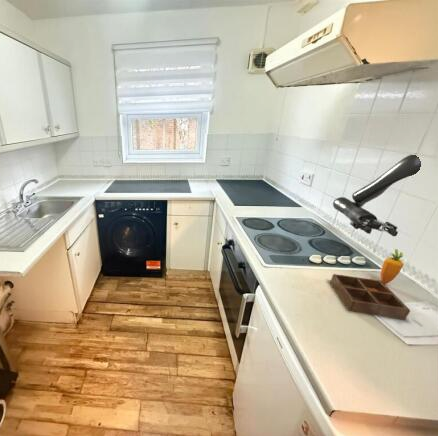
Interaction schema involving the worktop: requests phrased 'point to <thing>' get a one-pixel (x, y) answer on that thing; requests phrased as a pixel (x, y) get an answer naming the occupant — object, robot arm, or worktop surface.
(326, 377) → the worktop surface
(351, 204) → the robot arm
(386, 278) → the carrot
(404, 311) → the grid
